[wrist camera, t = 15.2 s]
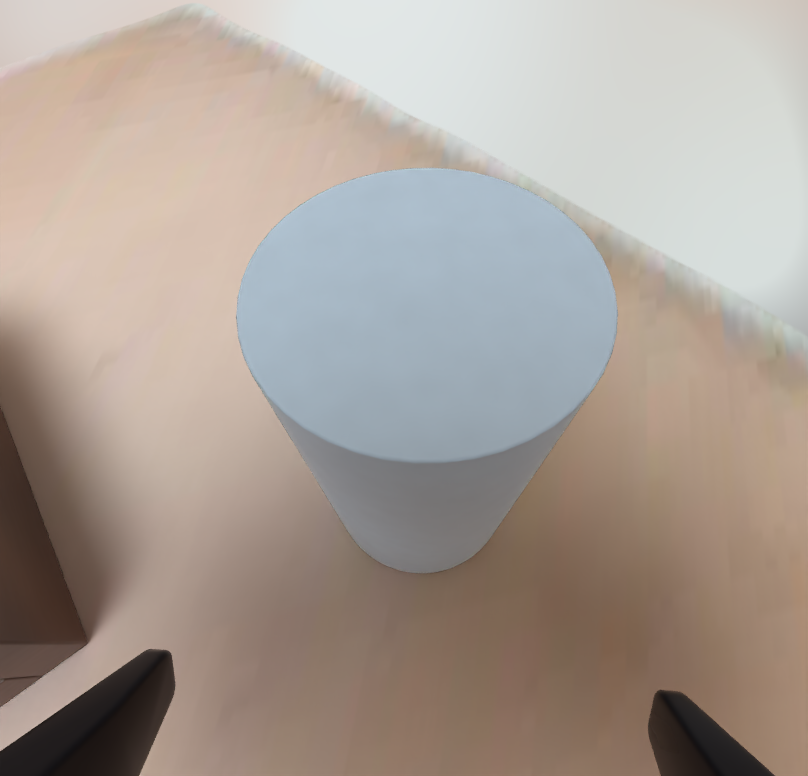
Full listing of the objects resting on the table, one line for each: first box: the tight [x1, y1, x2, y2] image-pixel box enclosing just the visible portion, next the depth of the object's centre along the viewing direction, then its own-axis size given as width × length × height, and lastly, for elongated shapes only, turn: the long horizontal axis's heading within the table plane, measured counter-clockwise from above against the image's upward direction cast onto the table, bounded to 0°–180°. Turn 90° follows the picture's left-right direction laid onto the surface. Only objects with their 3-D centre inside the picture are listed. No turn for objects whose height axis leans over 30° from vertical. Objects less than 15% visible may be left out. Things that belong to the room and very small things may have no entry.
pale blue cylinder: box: [236, 168, 618, 573], centre depth 13 cm, size 8×6×11 cm
